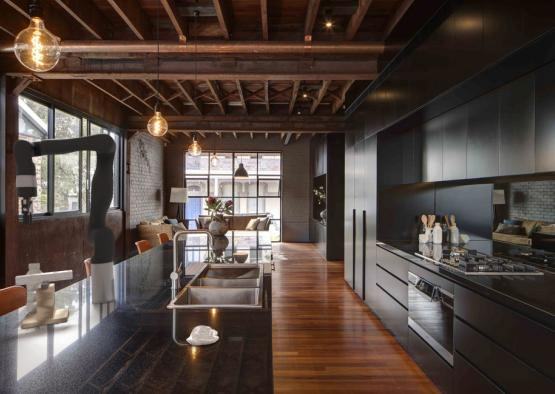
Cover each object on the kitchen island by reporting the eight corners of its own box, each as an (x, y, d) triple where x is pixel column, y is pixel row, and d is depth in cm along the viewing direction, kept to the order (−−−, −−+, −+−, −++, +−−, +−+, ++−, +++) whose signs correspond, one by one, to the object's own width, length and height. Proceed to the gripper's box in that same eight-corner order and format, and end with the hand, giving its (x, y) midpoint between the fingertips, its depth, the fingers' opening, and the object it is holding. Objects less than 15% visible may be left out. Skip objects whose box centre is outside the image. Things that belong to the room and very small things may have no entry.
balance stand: (68, 311, 148) (67, 276, 148) (67, 321, 135) (65, 282, 135) (27, 318, 141) (26, 280, 141) (21, 328, 129) (20, 287, 129)
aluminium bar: (72, 277, 144) (72, 270, 144) (72, 278, 141) (71, 271, 141) (17, 284, 136) (16, 276, 136) (15, 285, 133) (15, 277, 133)
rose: (202, 319, 118) (225, 323, 113) (203, 332, 118) (226, 338, 112) (179, 328, 109) (202, 334, 104) (179, 343, 109) (202, 349, 104)
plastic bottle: (36, 315, 145) (34, 265, 145) (21, 315, 146) (20, 265, 146) (49, 310, 151) (47, 262, 151) (35, 310, 152) (33, 262, 152)
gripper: (34, 185, 153) (36, 223, 153) (39, 187, 165) (40, 222, 165) (13, 185, 149) (14, 225, 149) (19, 187, 162) (20, 223, 162)
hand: (28, 223), depth 157 cm, fingers open, 8 cm apart
